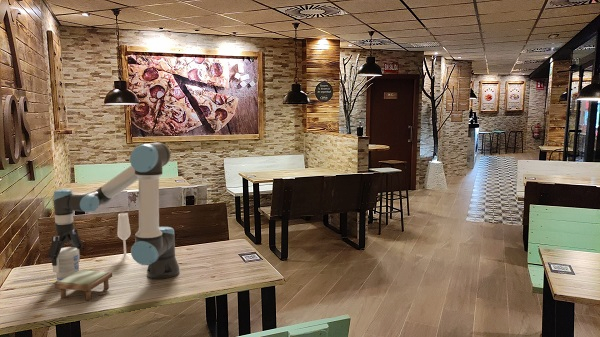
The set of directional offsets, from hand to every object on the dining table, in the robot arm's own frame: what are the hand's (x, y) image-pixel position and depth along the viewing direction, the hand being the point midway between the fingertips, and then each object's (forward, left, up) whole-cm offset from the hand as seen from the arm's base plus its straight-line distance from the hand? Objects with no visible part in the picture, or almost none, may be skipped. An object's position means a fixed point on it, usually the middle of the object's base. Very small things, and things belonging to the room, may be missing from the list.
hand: (66, 266), depth 204 cm
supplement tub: (0, 0, -7) cm, 7 cm away
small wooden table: (-18, +12, -6) cm, 23 cm away
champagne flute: (-8, -34, -7) cm, 36 cm away
